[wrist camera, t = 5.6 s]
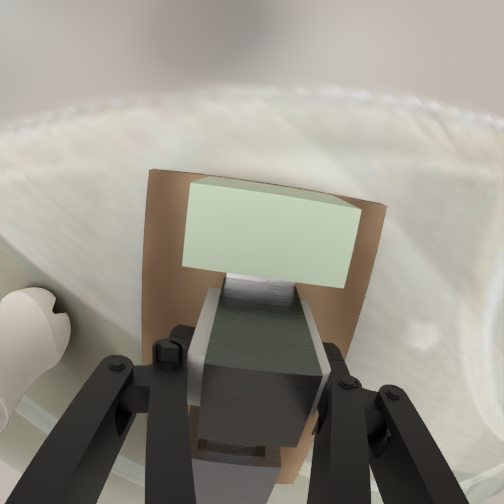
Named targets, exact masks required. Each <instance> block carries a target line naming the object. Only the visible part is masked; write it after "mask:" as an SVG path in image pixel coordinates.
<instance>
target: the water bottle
mask: <svg viewBox="0 0 504 504" xmlns="http://www.w3.org/2000/svg"><path fill="white" fill-rule="evenodd" d="M55 300H56V297H54V295H53V294H52V293H51V292H49V291H48V290H46V289H43V288H37V287H31V288H25V289H21V290H17V291H13V292H11V293H9V294H8V295H6V296H5V297H4V298H3V299H2V300H1V302H0V433H1V431H2V430H3V429H4V427H6V426H7V424H8V422H9V420H10V418H11V415H12V413H13V411H14V409H15V407H16V405H17V404H18V402H19V401H20V399H21V397H22V396H23V394H24V393H25V392H26V390H27V389H28V388H29V387H30V386H31V384H32V383H33V382H34V381H35V380H36V379H37V378H38V377H40V376H41V375H42V374H43V373H45V372H46V371H47V370H49V369H50V368H52V367H54V366H55V365H56V364H57V363H58V362H59V361H60V359H61V358H62V356H63V354H64V352H65V350H66V348H67V345H68V343H69V339H70V333H71V325H70V319H69V317H68V315H67V313H58V314H54V313H53V311H52V309H53V306H54V303H55Z"/></svg>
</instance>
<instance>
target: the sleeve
mask: <svg viewBox="0 0 504 504" xmlns="http://www.w3.org/2000/svg"><path fill="white" fill-rule="evenodd" d="M199 416H200V406H193V405H191V407H190V411H189V415H188V420H189V434H190V446H191V457H192V468H193V478H194V487H195V495H196V504H266V503H267V501H268V498H269V496H270V494H271V492H272V489H273V487H274V485H275V482H276V480H277V477H278V475H279V473H280V470H281V455H280V447H271V446H257V445H256V449H255V452H254V456H243V455H233V454H224V453H217V452H209V451H203V450H201V445H202V439H199V438H198V430H199Z"/></svg>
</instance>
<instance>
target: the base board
mask: <svg viewBox="0 0 504 504" xmlns="http://www.w3.org/2000/svg"><path fill="white" fill-rule="evenodd" d="M208 176H212V175H204V174H196V173H187V172H178V171H168V170H158V169H151V170H149V178H148V189H147V200H146V212H145V226H144V243H143V267H142V354H143V365H149V364H152V346H153V344H154V342H156V341H157V340H160V339H164V338H168V337H169V336H170V333H171V331H172V329H173V328H174V327H176V326H177V325H179V324H180V325H185V326H192V327H196V326H197V323H198V320H199V317H200V314H201V311H202V308H203V305H204V302H205V299H206V296H207V293H208V290H209V287H212V288H219V289H222V285H223V281H224V277H226V275H227V273H225V272H218V271H211V270H204V269H197V268H191V267H184V266H182V262H183V250H184V239H185V228H186V218H187V209H188V200H189V191H190V183H191V182H194V181H197V180H199V179H202V178H205V177H208ZM212 177H220V176H212ZM220 178H228V177H220ZM228 179H235V178H228ZM235 180H242V181H250V180H243V179H235ZM250 182H256V183H263V182H257V181H250ZM263 184H270V183H263ZM270 185H276V184H270ZM276 186H282V185H276ZM282 187H289V186H282ZM289 188H295V187H289ZM295 189H300V190H306V189H301V188H295ZM306 191H312V190H306ZM312 192H318V191H312ZM318 193H323V192H318ZM323 194H329V193H323ZM329 195H333V196H335V197H337V198H339V199H341V200H343V201H345V202H347V203H349V204H351V205H353V206H355V207H357V208H359V209H361V210H362V211H361V216H360V221H359V225H358V230H357V235H356V239H355V244H354V248H353V253H352V257H351V261H350V265H349V269H348V274H347V278H346V282H345V285H344V288H336V287H328V286H320V285H313V284H305V283H297V282H295V287H296V288H297V291H298V294H299V298H300V299H301V300H307V301H308V304H309V307H310V310H311V313H312V315H313V318H314V321H315V324H316V327H317V330H318V333H319V336H320V338H321V341H322V342H328V343H334V344H335V345H336V346H337V347H338V348H339V349H340V351H341V354H342V356H343V359H344V361H345V358H346V355H347V352H348V349H349V346H350V343H351V340H352V337H353V334H354V331H355V328H356V325H357V321H358V318H359V315H360V311H361V308H362V305H363V301H364V298H365V294H366V291H367V287H368V284H369V280H370V276H371V272H372V268H373V265H374V261H375V257H376V253H377V248H378V244H379V240H380V236H381V231H382V227H383V222H384V217H385V213H386V208H387V206H385V205H383V204H379V203H374V202H369V201H365V200H360V199H355V198H350V197H344V196H339V195H334V194H329ZM187 405H188V415H189V411H190V407H191V405H190V404H187ZM193 406H196V405H193ZM318 416H319V414H318V410H316V413H315V415H314V417H308V420H307V422H306V425H305V427H304V430H303V433H302V435H301V438H300V440H299V443H298V445H297V448H290V447H280V455H281V470H280V473H279V475H278V477H277V480H276V482H275V483H280V484H293V483H294V481H295V478H296V476H297V474H298V472H299V470H300V468H301V466H302V464H303V462H304V460H305V458H306V455H307V453H308V451H309V449H310V447H311V444H312V442H313V440H314V437H315V433H314V435H311V434H312V431H313V429H314V426H315V424H316V421H317V419H318ZM146 418H147V422H148V413H146ZM207 442H208V440H206V439H202V445H201V450H203V451H207Z"/></svg>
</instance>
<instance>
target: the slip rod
mask: <svg viewBox="0 0 504 504" xmlns="http://www.w3.org/2000/svg"><path fill="white" fill-rule="evenodd" d="M322 378H323V374H322V371H321V367H320V364H319V360H318V357H317V354H316V350H315V347H314V344H313V340H312V337H311V334H310V330H309V327H308V324H307V320H306V317H305V314H304V311H303V307H302V304H301V301H300V298H299V294H298V291H297V288H296V287H295V282H290V281H282V280H275V279H267V278H260V277H253V276H246V275H239V274H232V273H227V275H226V277H224V281H223V285H222V289H221V293H220V297H219V301H218V305H217V309H216V313H215V318H214V322H213V326H212V330H211V334H210V339H209V343H208V347H207V351H206V356H205V360H204V366H203V377H202V390H201V402H200V416H199V430H198V438H199V439H206V440H208V442H207V451H209V452H217V453H224V454H233V455H243V456H254V452H255V449H256V445H257V446H271V447H290V448H297V445H298V443H299V440H300V438H301V435H302V433H303V430H304V427H305V425H306V422H307V420H308V417H309V414H310V412H311V409H312V406H313V403H314V401H315V398H316V395H317V392H318V389H319V386H320V384H321V381H322Z"/></svg>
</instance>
